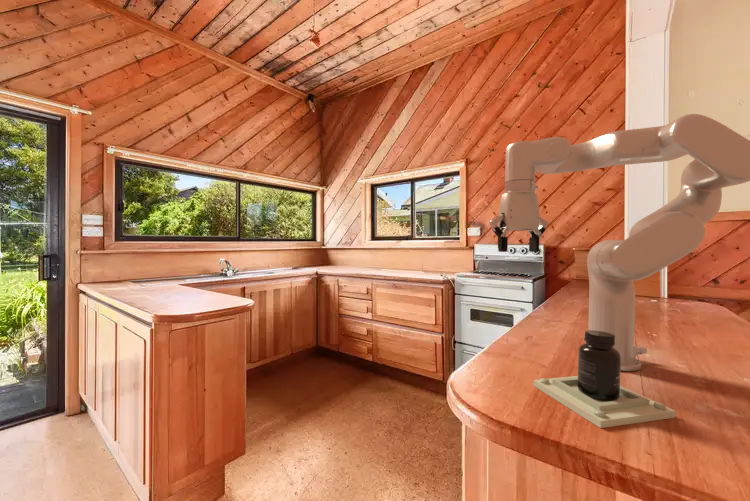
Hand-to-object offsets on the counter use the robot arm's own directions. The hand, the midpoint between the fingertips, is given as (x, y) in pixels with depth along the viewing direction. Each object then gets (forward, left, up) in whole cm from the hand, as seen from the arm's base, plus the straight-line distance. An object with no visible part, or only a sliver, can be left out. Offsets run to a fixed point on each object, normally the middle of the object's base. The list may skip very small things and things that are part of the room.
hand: (518, 251), depth 87 cm
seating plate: (+1, +26, -28) cm, 38 cm away
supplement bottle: (+1, +26, -27) cm, 38 cm away
